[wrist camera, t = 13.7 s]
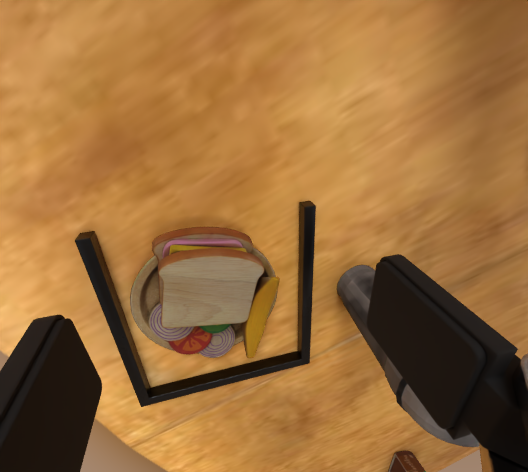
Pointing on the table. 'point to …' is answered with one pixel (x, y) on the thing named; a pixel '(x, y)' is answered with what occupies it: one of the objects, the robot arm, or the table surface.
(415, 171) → the table surface
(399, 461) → the food container
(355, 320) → the beverage cup
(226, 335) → the toy sandwich meal
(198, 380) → the frame
